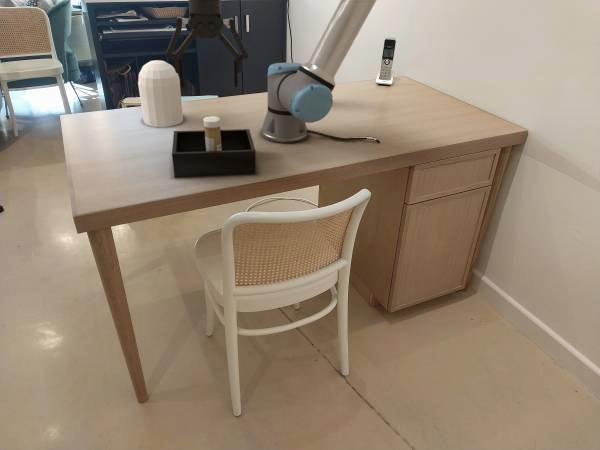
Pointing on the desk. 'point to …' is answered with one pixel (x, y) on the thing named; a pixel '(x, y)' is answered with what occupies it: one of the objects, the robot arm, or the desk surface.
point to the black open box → (213, 154)
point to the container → (160, 94)
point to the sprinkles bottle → (212, 133)
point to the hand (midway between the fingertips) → (209, 85)
